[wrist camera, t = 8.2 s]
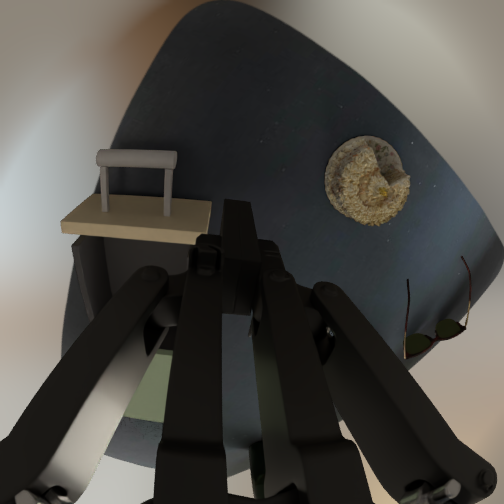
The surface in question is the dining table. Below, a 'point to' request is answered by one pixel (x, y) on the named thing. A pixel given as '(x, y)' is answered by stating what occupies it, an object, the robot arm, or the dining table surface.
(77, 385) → the robot arm
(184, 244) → the pull-out drawer
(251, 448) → the green wine bottle
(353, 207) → the cake
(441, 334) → the sunglasses
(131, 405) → the green drawer box
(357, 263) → the dining table surface
